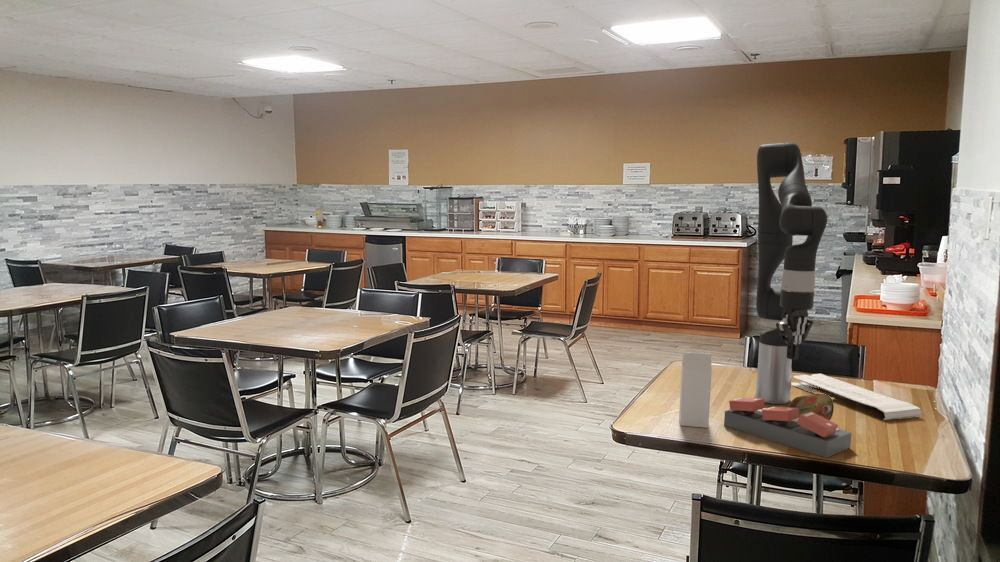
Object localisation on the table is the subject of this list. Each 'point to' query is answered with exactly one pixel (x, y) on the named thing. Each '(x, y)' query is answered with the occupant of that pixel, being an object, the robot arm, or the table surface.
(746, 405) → the block
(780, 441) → the power strip
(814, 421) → the rocker
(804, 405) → the tin
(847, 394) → the white flat bar
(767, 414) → the block
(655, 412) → the table surface
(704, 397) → the milk carton
